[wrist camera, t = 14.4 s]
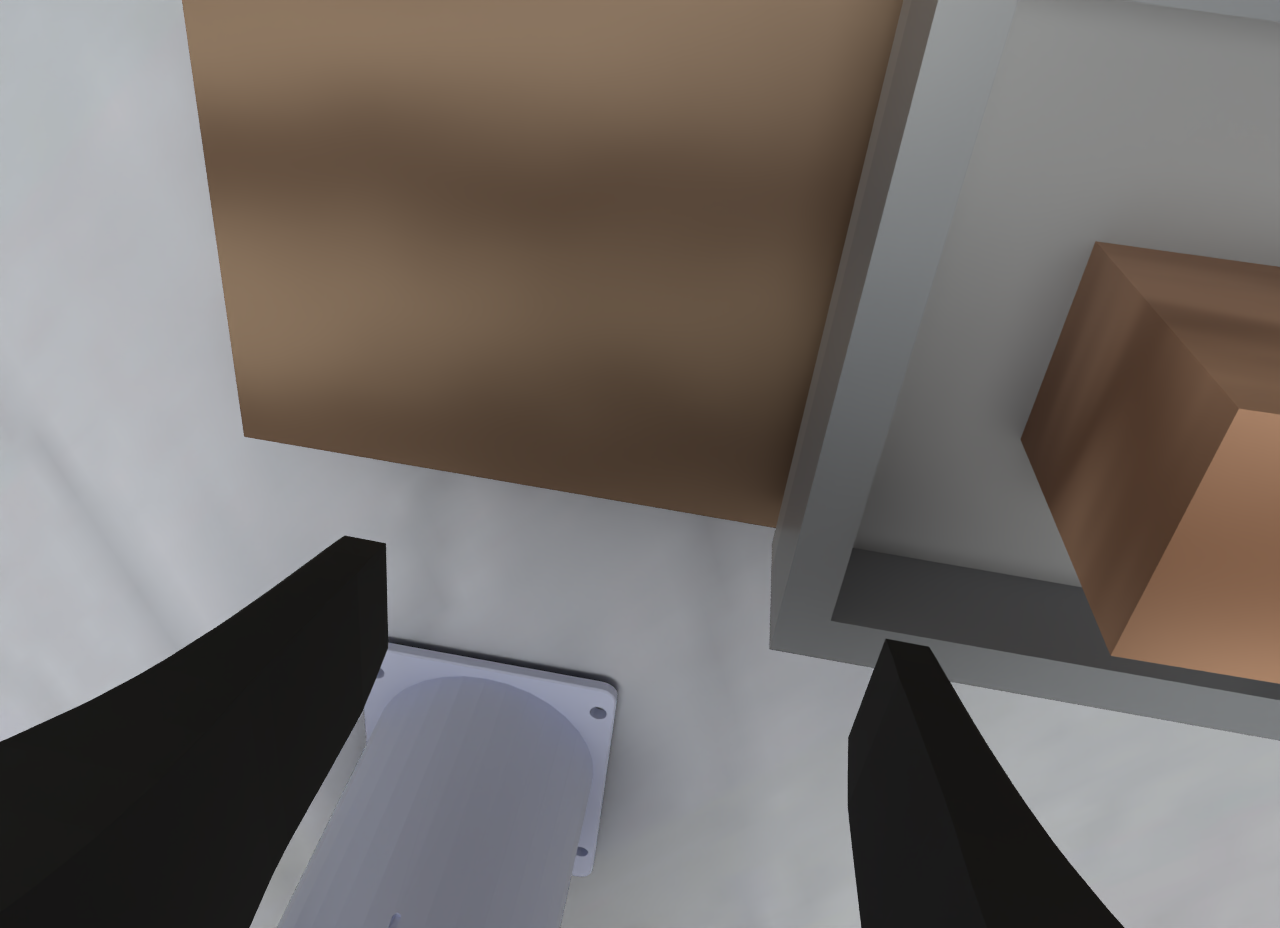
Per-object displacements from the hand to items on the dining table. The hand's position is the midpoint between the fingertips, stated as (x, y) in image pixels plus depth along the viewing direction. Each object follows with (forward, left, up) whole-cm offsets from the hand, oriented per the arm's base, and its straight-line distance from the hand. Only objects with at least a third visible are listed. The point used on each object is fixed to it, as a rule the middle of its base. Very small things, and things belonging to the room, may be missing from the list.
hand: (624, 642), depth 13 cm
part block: (+3, -9, -7) cm, 11 cm away
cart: (+3, -9, -9) cm, 13 cm away
